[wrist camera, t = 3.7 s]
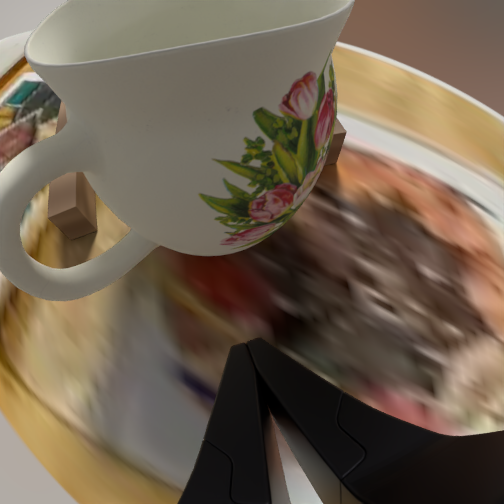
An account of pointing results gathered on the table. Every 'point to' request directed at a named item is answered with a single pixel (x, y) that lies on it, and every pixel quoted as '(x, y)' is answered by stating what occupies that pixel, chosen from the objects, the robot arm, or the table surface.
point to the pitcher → (177, 125)
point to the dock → (83, 196)
